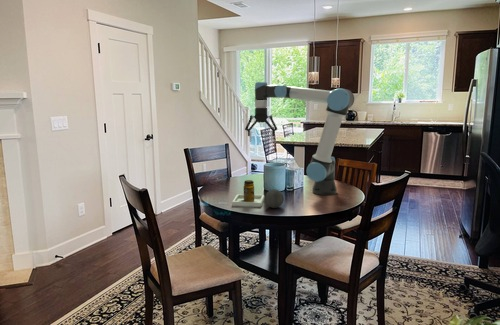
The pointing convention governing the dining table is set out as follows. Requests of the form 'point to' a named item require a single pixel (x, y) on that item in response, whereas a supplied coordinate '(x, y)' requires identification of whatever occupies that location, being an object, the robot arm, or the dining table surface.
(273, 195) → the decorative ball
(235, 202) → the sage tray
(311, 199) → the dining table surface
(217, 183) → the dining table surface
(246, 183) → the condiment
